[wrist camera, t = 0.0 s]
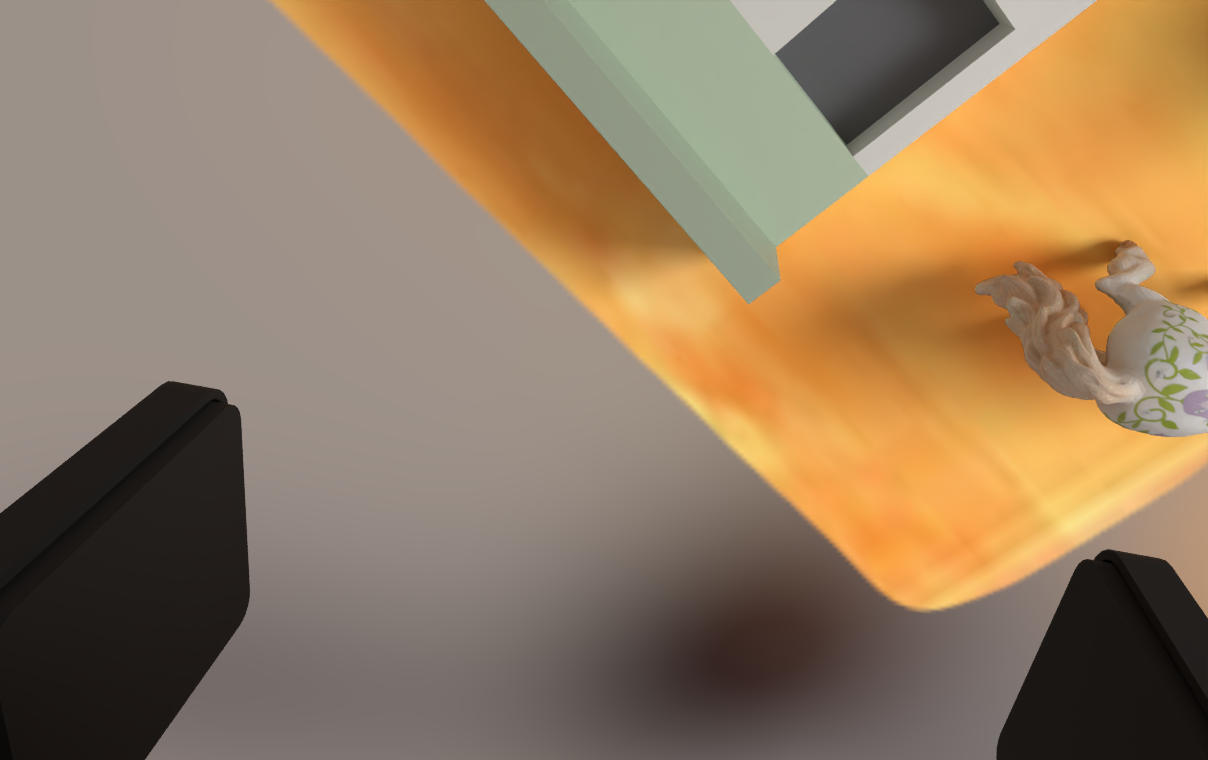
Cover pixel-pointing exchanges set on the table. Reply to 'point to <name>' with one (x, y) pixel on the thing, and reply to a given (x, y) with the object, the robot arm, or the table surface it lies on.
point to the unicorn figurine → (1114, 345)
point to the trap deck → (770, 97)
